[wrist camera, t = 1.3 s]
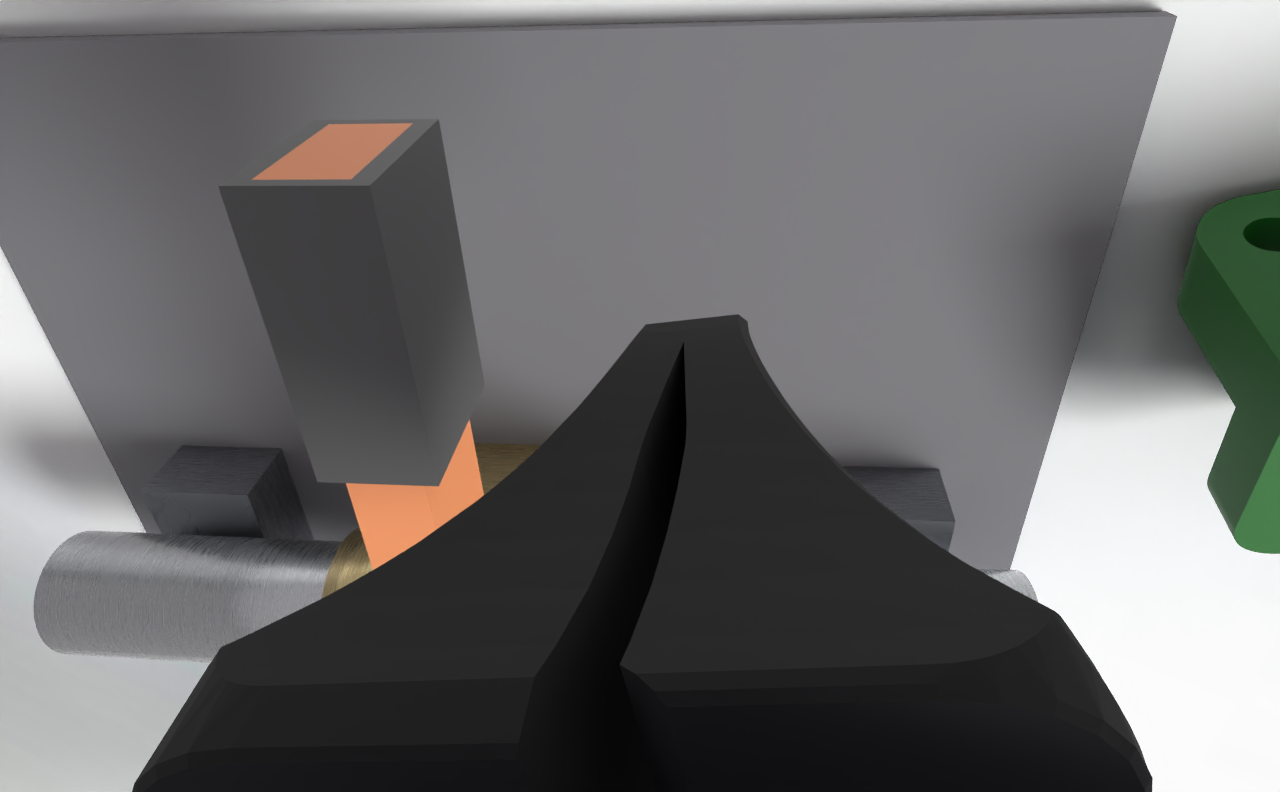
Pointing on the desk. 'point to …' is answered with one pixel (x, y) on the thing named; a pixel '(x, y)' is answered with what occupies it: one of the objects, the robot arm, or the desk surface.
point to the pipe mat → (610, 221)
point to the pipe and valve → (282, 554)
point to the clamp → (1242, 356)
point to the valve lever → (368, 316)
